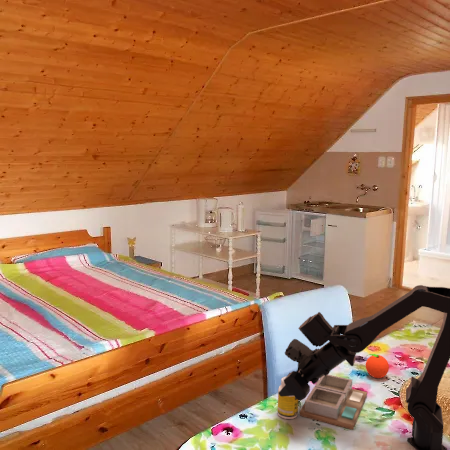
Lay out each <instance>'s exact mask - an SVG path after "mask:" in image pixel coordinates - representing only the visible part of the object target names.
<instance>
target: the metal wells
mask: <svg viewBox="0 0 450 450" xmlns="http://www.w3.org/2000/svg"><path fill="white" fill-rule="evenodd" d="M324 385H328V386H332V387H337V388H341V389H344V391H340V390H336V389H331V388H327V387H323V386H324ZM352 389H353V379H350V378H345V377H341V376H337V375H333V374H332V375H331V374H328V375H326V376H325V375H324V376H322V377H321V378H319V379H318V381H317V382H316V383H315V384H314V387H313V388H312V389H311V391H310V392H309V393H308V395H307V396H306V398H305V399H304V404H305V412H308V413H312V414H316V415H320V416H324V417H328V418H332V419H336V420H337V419H338V417H339V415H340V413H341V411H342V409H343V407H344V405H345V403H346V401H347V399H348V397H349V395H350V392H351V390H352ZM315 399H319V400H323V401H327V402H331V403H336V404H337V405H336V407H334V406H330V405H326V404H322V403H318V402H314V401H315Z"/></svg>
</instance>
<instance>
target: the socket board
mask: <svg viewBox="0 0 450 450" xmlns="http://www.w3.org/2000/svg"><path fill="white" fill-rule="evenodd" d="M323 387H327V388H331V389H336V390H340V391H344V389H341V388H337V387H332V386H328V385H324V386H323ZM367 397H368V392H367V391H363V390H358V389H355V388H352V390H351V392H350V395H349V397H348V399H347V401H346V403H345V405H344V407H343V409H342V411H341V413H340V415H339V417H338V419H337V420H336V419H332V418H328V417H324V416H320V415H316V414H312V413H308V412H305V403H304V404H303V406H302V407H301V408H300V409H299V416H300V417H305V418H307V419H311V420H315V421H319V422H323V423H327V424H331V425H335V426H338V427H342V428H346V429H350V430H354V428H355V427H356V425H357V421H358V419H359V417H360V414H361V412H362V409H363V407H364V404H365V402H366V399H367ZM314 402H318V403H322V404H326V405H330V406H334V407H336V405H337V404H336V403H331V402H327V401H323V400H319V399H315V401H314Z"/></svg>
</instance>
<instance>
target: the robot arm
mask: <svg viewBox="0 0 450 450" xmlns="http://www.w3.org/2000/svg"><path fill="white" fill-rule="evenodd" d="M420 308H428V309H431V310H434V311H438V312H440V313H443V319H442V324H441V326H440V329H439V332H438V334H437V336H436V339H435V341H434V343H433V345H432V348H431V351H430V353H429V356H428V357H427V358H428V359H427V360H426V363H425V366H424V368H423V371H422V373H421V375H419V376H418V378H416V377H414V376H410V377H411V378H410V381H409V386H408V387H406V388H405V403H406V404H407V411H408V414H409V415H410V416H411V418H413V420H412V429H411V436H410V437H407V438H406V441H407V442H408V443H409V444H410V445H411V446H412V447H414V448H415V449H416V450H448V448H447V447H446V446H444V445H443V438H444V428H445V427H444V419H443V411H442V410H443V409H442V407H441V405H440V404H439V403H438V402H437V401H438V400H437V399H438V391H439V390H438V389H439V385H440V383H441V381H442V378H443V376H444V373H445V372H446V369H447V367H448V364H449V361H450V287H444V286H426V285H422V284H420V285H416V286H414V287H413V288H412V289H411V290H410V291H408V292H406V293H405V294H403V295H401V296H400V297H398V298H397V299H396V300H394V301H392V302H391V303H390V304H388V305H387V306H385V307H383V308H382V309H380V310H379V311H377V312H375V313H374V314H372V315H370V316H367V317H362V318H360V319H357V320H355V321H353V322H350V323H349V324H334V325H333V326H332V325H331V324H330V322H329V321H327V319H325V317H324V315H323V314H322V312H320V311H318V312H317V313H316V314H314V315H312V316H309V317H308V318H307V319H305V320H304V322H302V324H300V326H299V327H298V331H300V332H301V334H302V335H303V336H304V337H305V338H306V339H307V340H308V341H309V342H310V344H311V345H312V346H315V347H316V348H315V349H314V350H313V349H311V348H310V347H309V346H308V345H306V344H305V343H303V342H302V341H300V340H298V339H296V338H293V339H292V340H291V342H289V344H288V345H287V348H286V349H285V351H284V355H285V356H286V357H287V358H288V359H290V360H291V361H293V362H296V363H297V370H296V371H295V370H292V371H290V372H289V373H288V374H287V377H286V376H285V377H286V378H285V379H284V383H285V384H286V385H285V386H284V387H283V388H282V389H281V390H280V392H279V395H280V396H295V397H296V398H297V400H298V402H301V401H303V400H305V399H307V397H308V396H309V394H310V393H311V391H310V390H311V385H310V384H309V383H310V382H311V383H312V384H313V385H316V383H317V382H318V380H319V379H320V378H321V377H322V376H324V375H325V376H326V375H330V372H331V371H332V370H333V369H335V368H336V367H338V366H339V365H341V364H342V363H344V362H345V361H346V362H347V363H348V364H349V366H351V367H354V366H355V362H356V359H357V358H356V356H357V354H359V353H361V352H363V351H364V350H365V349H366V348H368V346H369V345H371V344H372V343H373V342H374V340H375V339H376V338H377V337H378V336H379V335H380V334H381V333H382V332H384V331H385V330H387V329H389V328H391V326H393V325H394V324H397V323H398V322H399V321H402V320H403V319H404V318H406V317H407V316H410V315H411V314H413V313H415V312H416V311H417V310H419V309H420ZM318 347H320V348H318Z"/></svg>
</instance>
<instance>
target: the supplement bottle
mask: <svg viewBox="0 0 450 450" xmlns="http://www.w3.org/2000/svg"><path fill="white" fill-rule="evenodd" d="M286 377H287V376H283V377H281V382H280V385H279V387H278V390H277V414H278V416H279V417H280V418H282V419H285V420H293V419H295V418H297V416H298V415H299V400H297V398H296V397H295V396H280V395H279V392H280V390H281V389H282V388H283V387H284V386H285V385H286V384H285V383H284V379H285V378H286Z"/></svg>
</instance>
